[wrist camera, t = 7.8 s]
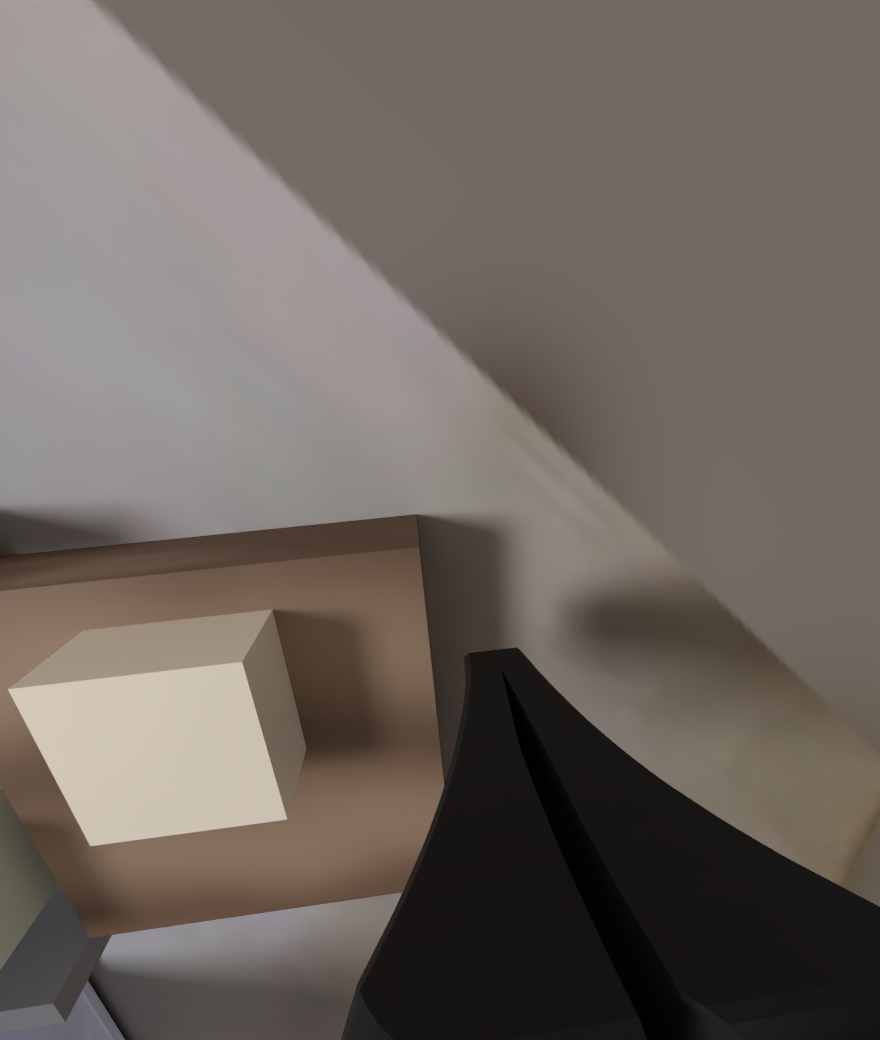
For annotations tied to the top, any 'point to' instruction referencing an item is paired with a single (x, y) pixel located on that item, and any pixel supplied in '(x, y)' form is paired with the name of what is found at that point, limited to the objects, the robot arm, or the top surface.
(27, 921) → the sage tile
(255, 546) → the walnut board
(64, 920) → the box
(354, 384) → the top surface
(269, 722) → the cream tile
